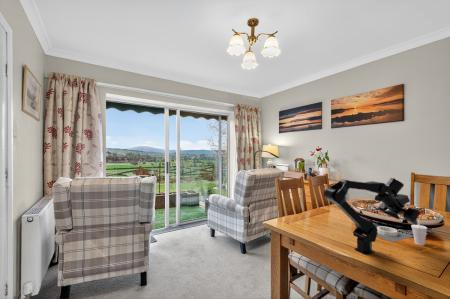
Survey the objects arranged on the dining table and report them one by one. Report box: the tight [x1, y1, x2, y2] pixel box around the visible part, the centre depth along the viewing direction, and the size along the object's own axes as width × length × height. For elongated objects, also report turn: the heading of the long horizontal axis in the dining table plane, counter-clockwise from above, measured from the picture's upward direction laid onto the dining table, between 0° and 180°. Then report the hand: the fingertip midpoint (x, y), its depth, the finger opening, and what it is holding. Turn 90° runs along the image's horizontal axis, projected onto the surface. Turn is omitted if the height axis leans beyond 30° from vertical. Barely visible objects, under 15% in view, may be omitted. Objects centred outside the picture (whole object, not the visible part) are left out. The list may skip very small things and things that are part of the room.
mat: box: [376, 231, 414, 243], centre depth 128 cm, size 20×18×1 cm
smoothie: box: [410, 217, 428, 246], centre depth 113 cm, size 6×6×14 cm
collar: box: [376, 225, 398, 237], centre depth 128 cm, size 10×10×2 cm
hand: (407, 221), depth 112 cm, fingers open, 9 cm apart
